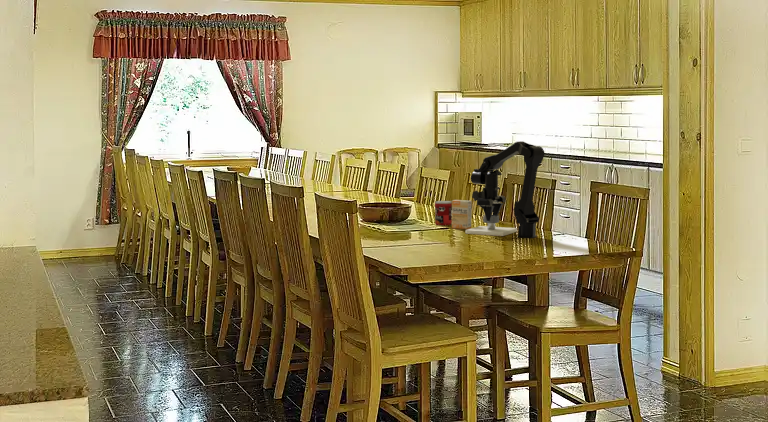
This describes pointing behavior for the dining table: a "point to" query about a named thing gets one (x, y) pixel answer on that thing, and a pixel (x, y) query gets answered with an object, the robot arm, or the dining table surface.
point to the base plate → (491, 231)
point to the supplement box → (461, 214)
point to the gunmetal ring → (491, 219)
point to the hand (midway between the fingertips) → (491, 219)
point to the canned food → (443, 212)
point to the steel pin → (491, 226)
